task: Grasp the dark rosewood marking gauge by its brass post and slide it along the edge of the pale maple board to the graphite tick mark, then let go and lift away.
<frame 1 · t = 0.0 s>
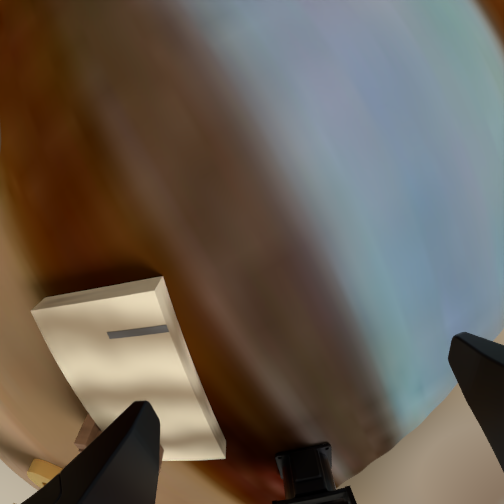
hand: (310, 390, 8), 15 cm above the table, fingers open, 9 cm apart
gauge: (117, 462, 22), point 6 cm above the table, slide at 0.0 cm
board: (138, 382, 25), on the table
clamp: (81, 483, 34), on the table
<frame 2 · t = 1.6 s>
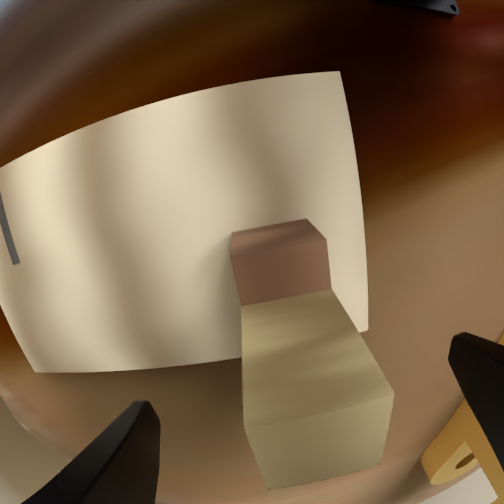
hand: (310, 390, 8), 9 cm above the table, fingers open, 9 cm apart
gauge: (295, 352, 11), point 6 cm above the table, slide at 0.0 cm
board: (147, 240, 15), on the table
clamp: (480, 405, 22), on the table
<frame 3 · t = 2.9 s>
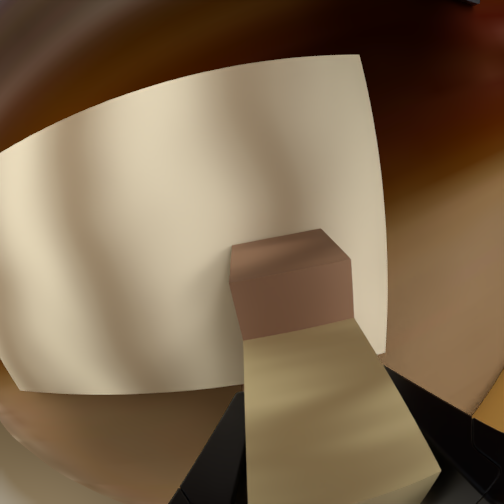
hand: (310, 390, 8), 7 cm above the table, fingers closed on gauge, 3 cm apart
gauge: (307, 390, 9), point 6 cm above the table, slide at 0.0 cm, touching gripper
board: (134, 251, 13), on the table
clamp: (493, 412, 20), on the table
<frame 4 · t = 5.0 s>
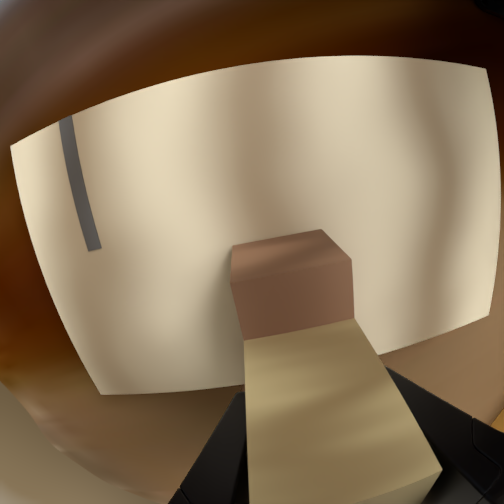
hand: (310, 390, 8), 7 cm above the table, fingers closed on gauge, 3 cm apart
gauge: (307, 390, 9), point 6 cm above the table, slide at 6.5 cm, touching gripper
board: (282, 221, 13), on the table
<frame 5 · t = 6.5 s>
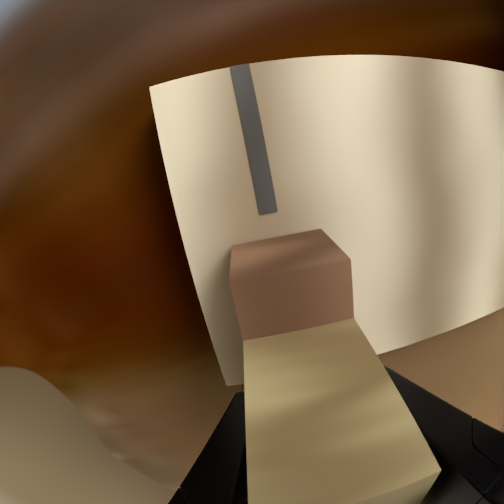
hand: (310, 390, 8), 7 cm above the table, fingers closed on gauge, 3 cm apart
gauge: (307, 390, 9), point 6 cm above the table, slide at 12.9 cm, touching gripper
board: (415, 198, 13), on the table
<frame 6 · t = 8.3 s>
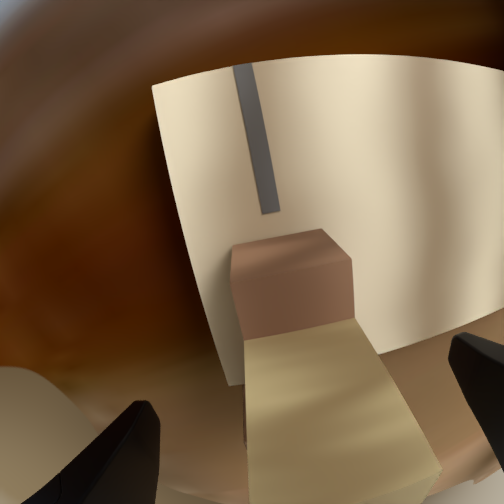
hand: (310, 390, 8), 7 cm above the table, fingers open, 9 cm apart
gauge: (308, 389, 9), point 6 cm above the table, slide at 13.0 cm
board: (417, 197, 13), on the table
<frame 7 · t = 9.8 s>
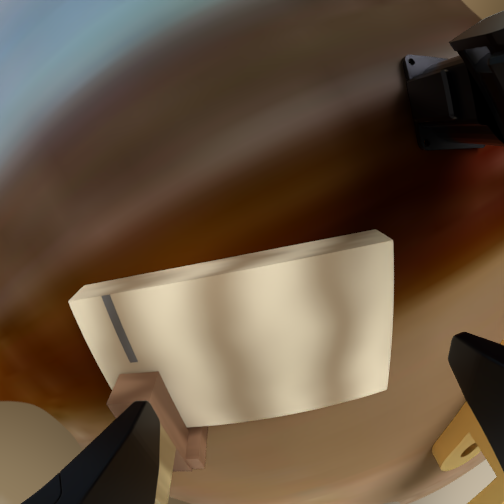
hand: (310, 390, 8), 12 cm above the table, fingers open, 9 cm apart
gauge: (152, 442, 17), point 6 cm above the table, slide at 13.0 cm
board: (241, 339, 21), on the table
clamp: (480, 404, 27), on the table
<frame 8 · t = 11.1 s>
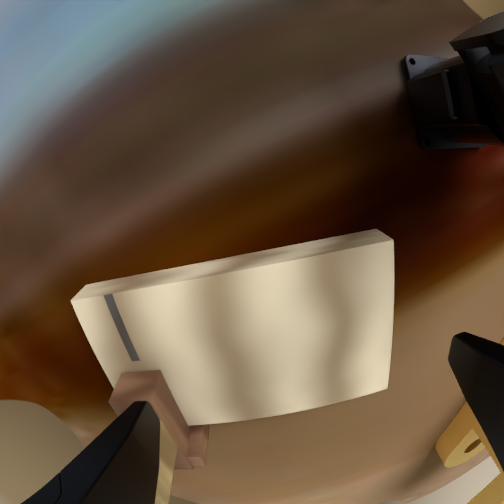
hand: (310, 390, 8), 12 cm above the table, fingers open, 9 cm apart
gauge: (153, 440, 17), point 6 cm above the table, slide at 13.0 cm
board: (242, 337, 21), on the table
clamp: (483, 399, 27), on the table
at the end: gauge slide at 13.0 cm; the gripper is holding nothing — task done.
